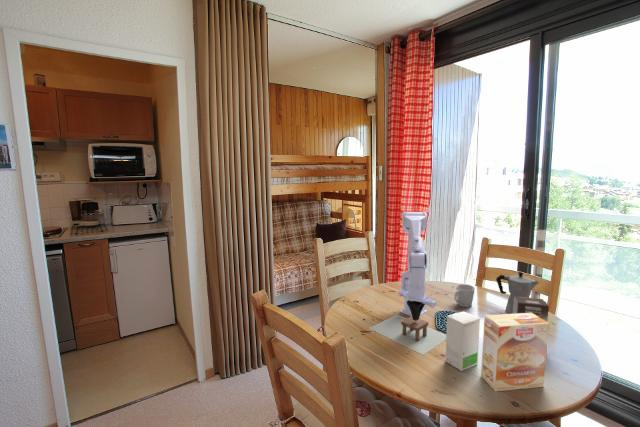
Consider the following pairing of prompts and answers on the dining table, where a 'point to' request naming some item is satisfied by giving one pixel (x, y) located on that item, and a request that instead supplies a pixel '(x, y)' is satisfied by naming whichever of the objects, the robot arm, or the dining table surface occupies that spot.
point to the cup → (464, 295)
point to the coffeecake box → (514, 351)
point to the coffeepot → (516, 288)
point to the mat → (409, 335)
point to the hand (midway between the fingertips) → (415, 319)
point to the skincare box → (462, 340)
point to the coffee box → (531, 306)
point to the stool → (415, 326)
